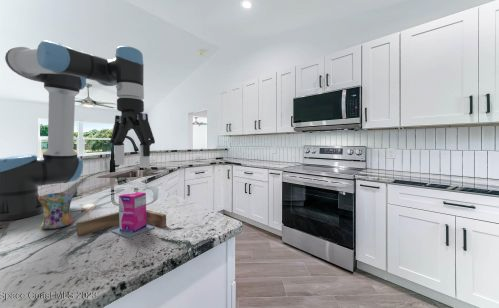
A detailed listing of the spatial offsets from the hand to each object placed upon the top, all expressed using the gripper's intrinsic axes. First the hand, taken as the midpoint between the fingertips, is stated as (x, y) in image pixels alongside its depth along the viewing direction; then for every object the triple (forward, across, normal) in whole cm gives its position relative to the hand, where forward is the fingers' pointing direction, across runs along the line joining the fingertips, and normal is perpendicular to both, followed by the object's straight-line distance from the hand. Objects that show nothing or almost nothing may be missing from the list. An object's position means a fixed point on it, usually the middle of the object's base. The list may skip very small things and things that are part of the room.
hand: (131, 166), depth 71 cm
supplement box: (+20, 0, 0) cm, 21 cm away
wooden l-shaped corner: (+21, -2, -2) cm, 21 cm away
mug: (+21, -27, -11) cm, 36 cm away
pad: (+21, 0, 0) cm, 21 cm away
